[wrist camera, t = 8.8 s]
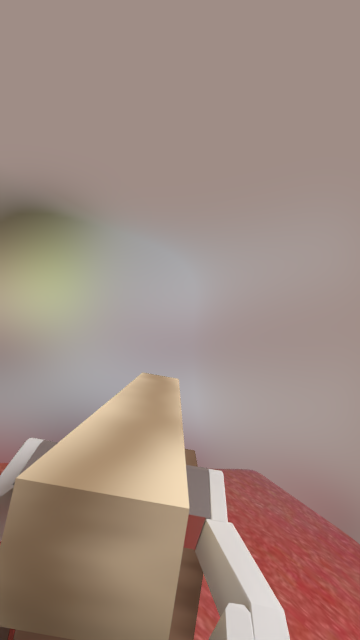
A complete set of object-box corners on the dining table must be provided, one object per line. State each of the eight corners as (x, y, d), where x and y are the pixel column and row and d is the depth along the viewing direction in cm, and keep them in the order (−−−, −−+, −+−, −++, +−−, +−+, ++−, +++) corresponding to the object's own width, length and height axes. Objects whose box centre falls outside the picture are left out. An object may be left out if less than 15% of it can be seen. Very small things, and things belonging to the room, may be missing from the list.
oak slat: (-18, 623, 5) (15, 477, 6) (137, 400, 27) (142, 372, 28) (166, 656, 5) (189, 508, 6) (173, 406, 27) (178, 378, 28)
